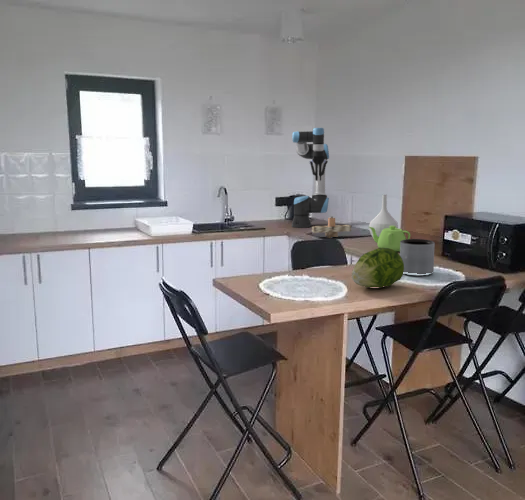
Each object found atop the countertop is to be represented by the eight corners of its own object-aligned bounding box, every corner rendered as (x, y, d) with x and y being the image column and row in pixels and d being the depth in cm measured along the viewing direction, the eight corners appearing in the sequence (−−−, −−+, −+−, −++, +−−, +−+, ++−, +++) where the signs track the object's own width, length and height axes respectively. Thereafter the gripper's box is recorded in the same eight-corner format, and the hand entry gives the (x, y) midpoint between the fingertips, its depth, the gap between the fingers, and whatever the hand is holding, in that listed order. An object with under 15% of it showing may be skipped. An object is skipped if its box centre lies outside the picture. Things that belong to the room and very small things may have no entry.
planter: (431, 270, 257) (433, 239, 254) (434, 277, 241) (436, 245, 238) (398, 268, 260) (399, 238, 257) (399, 276, 245) (400, 244, 242)
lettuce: (341, 286, 231) (341, 251, 223) (382, 272, 240) (384, 238, 233) (367, 303, 217) (368, 266, 209) (409, 287, 226) (412, 251, 219)
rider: (329, 228, 352) (329, 216, 350) (328, 228, 355) (328, 216, 353) (335, 228, 352) (335, 216, 351) (333, 227, 355) (333, 216, 354)
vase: (400, 239, 342) (402, 193, 336) (393, 243, 326) (395, 196, 321) (373, 237, 351) (374, 193, 345) (365, 241, 335) (366, 195, 329)
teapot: (414, 251, 303) (415, 226, 301) (385, 254, 296) (386, 229, 293) (394, 245, 320) (395, 222, 318) (367, 248, 313) (367, 225, 310)
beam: (314, 238, 349) (314, 227, 347) (311, 237, 356) (311, 226, 355) (351, 237, 353) (351, 226, 352) (347, 235, 361) (347, 224, 359)
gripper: (310, 151, 352) (310, 185, 357) (329, 150, 355) (328, 185, 359) (307, 150, 360) (307, 185, 364) (325, 150, 362) (325, 184, 366)
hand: (318, 185), depth 362 cm, fingers closed
